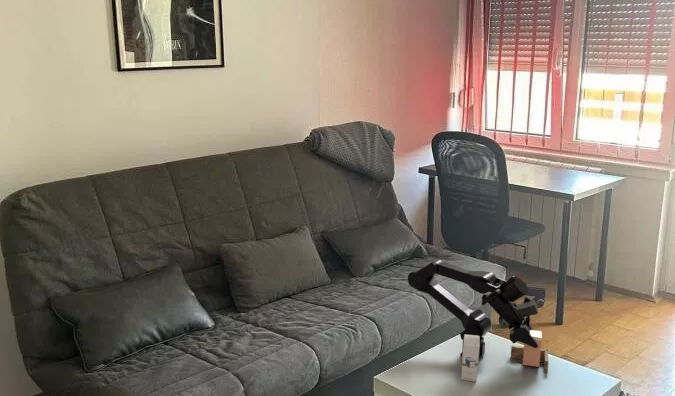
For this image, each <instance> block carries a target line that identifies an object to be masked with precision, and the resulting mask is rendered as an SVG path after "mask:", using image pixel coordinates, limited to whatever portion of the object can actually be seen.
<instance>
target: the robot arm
mask: <svg viewBox="0 0 675 396" xmlns="http://www.w3.org/2000/svg"><path fill="white" fill-rule="evenodd" d="M436 274H437V275H439V276H441V277H445V278H448V279H450V280H451V279H452V280H454V281H457V282H460V283H462V284H465V285H467V286H468V287H469V288H470V290H471V289H472V290H473V291H474V292H477V293H479V294H482V297H481V306H482V307H483V306H485V305H486V304H488V305H489V306H490V307H491V308H492V309H493V310H494V311H495V313H496V314H497V315H498V318H499V320H500V321H502V320H503V321H504V323H506V324H507V329H509V337H508V338H509V340H510V342H511V343H513V344H516V343H517V342H519V343H522V344H523V345H524V344H527V345H529V346H531V347H534V348H537V347H538V345H537V343H536V341H535V340H534V339H533V337H532V336H531V334H530V330H534V329H533V327H532V325H531V323H530V322H531V316H536V315H537V314H538V313H539V308H538V306H537V303H536V301H535V300H534V298H533V299H532V298H530V297H529V296H526V295H527V294H528V293H529V289H528V288H529V287H528V285H527V284H526V282H525V281H523V280H522V279H521V278H519V277H517V275H512V276H511V277H509V278H508V279H507V280H505V279H503V278H501V277H498V276H496V274H495V273H494V272H491V271H483V270H470V269H467V268H464V267H461V266H457V265H455V264H452V263H448V262H446V261H443V260H441V259H435V260H433V261H431V262H429V264H427V265H426V266H425V267H419V268H418V269H415V270H413V271H411V272H409V274H408V275H407V283H408V285H409V286H410V287H411V288H413V289H414V290H416V291H418V292H421V293H424V294H427V295H429V296H430V297H432V299H434V301H436V302H438V304H439V305H441V306H442V307H443V308H445V310H447V311H448V312H449V313H451V314H452V315H453V316H454V317H456V318H457V319H458V320H459V321H460V323H461V325H462V327H463V329H464V330H463V331H461V332H460V333H459V335H460V336H459V337H460V339H461V340H462V344H463V343H464V334H465V335H477V336H480V348H479V360H480V359H482V357H483V356H484V355H485V351H486V342H484V341H485V338H484V336H486V334H487V333H488V332H490V331H491V329H492V326H493V325H492V321H491V319H490V318H489V317H488V316H489V314H486V313H485V312H483V311H482V309H480V308H476V309H475V310H473V309H470V308H469V307H467V306H466V304H464V303H462V301H460V300H459V299H457V297H455V296H454V295H452V294H451V293H450V292H449V291H448V290H446V289H445V288H444V287H442V286H441V285H440V284H439V283H438V282H437V280H436V277H435V275H436ZM487 293H488V294H487ZM525 296H526V297H525ZM522 297H523V302H520V303H519V304H517V303H516V301H518V300H519V299H521V298H522ZM461 348H462V349H461V352H460V356H461V357H462V355H463V345H462V347H461Z"/></svg>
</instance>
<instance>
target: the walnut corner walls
mask: <svg viewBox="0 0 675 396" xmlns="http://www.w3.org/2000/svg"><path fill="white" fill-rule="evenodd" d="M523 352H524V346H517V345H511V347H510V358H511V359H515V358H517V359H516V360H523ZM540 363H543V372H544V373H545V374H548V373H549V351H548V349H544V348H541V352H540Z"/></svg>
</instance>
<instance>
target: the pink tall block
mask: <svg viewBox="0 0 675 396" xmlns="http://www.w3.org/2000/svg"><path fill="white" fill-rule="evenodd" d="M530 334H531V336H532V337H533V339H534V340H535V341H536V343H537V345H538V347H537V348H534V347H531V346H529V345H527V344H524V343H523V347H524V352H523V359H522V365H523V366H531V367H539V368H540V363H541V362H540V352H541V349H542V339H543V336H542V335H543V333H542V331H540V330H534V329H533V330H530Z"/></svg>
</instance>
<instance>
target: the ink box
mask: <svg viewBox="0 0 675 396" xmlns="http://www.w3.org/2000/svg"><path fill="white" fill-rule="evenodd" d="M462 346H463V355H462V356H461V357H462V358H461V372H460V373H461V376H460V377H461V380H462V381H467V382H468V381H469V382H477V381H478V379H477V377H478V370H479V369H478V368H479V361H480V359H479V348H480V336H477V335H465V334H464V343H463V342H462Z"/></svg>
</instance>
